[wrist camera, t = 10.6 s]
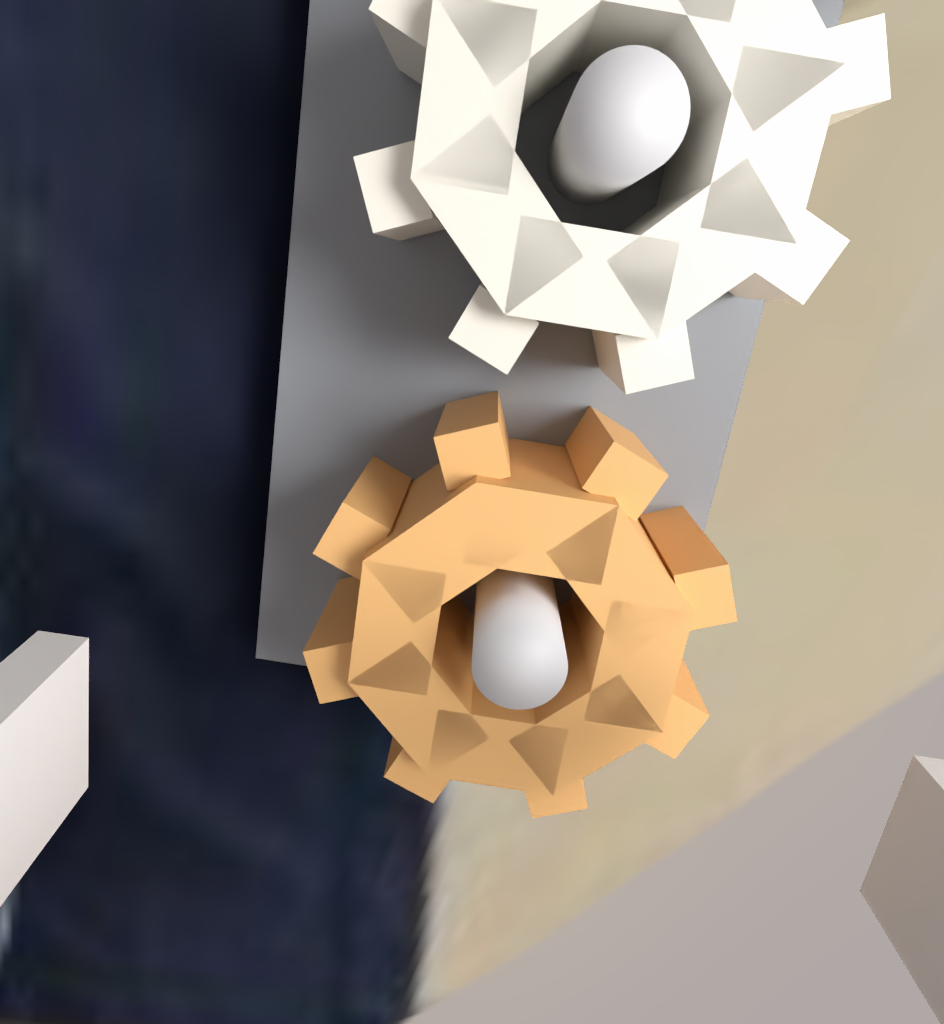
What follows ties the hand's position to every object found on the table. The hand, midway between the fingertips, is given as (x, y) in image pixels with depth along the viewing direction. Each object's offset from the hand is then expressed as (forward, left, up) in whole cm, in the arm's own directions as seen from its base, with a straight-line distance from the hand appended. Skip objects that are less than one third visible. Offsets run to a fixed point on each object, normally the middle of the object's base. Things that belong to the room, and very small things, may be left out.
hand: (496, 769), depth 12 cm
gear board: (-1, +5, -11) cm, 12 cm away
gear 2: (0, 0, -10) cm, 10 cm away
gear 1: (0, +10, -10) cm, 14 cm away
